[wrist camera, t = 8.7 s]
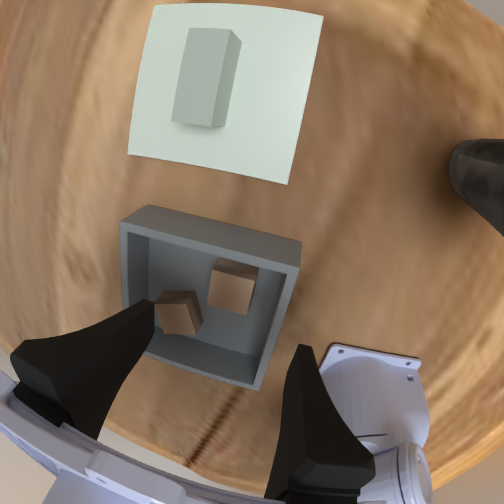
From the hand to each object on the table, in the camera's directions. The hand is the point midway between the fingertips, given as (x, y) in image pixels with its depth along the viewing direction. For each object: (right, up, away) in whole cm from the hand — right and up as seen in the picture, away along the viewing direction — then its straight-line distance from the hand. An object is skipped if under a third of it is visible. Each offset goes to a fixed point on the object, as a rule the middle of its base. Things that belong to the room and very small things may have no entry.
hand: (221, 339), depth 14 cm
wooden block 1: (-4, 0, +11) cm, 12 cm away
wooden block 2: (0, +2, +9) cm, 9 cm away
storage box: (-2, +1, +10) cm, 11 cm away
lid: (-1, +16, +4) cm, 16 cm away
